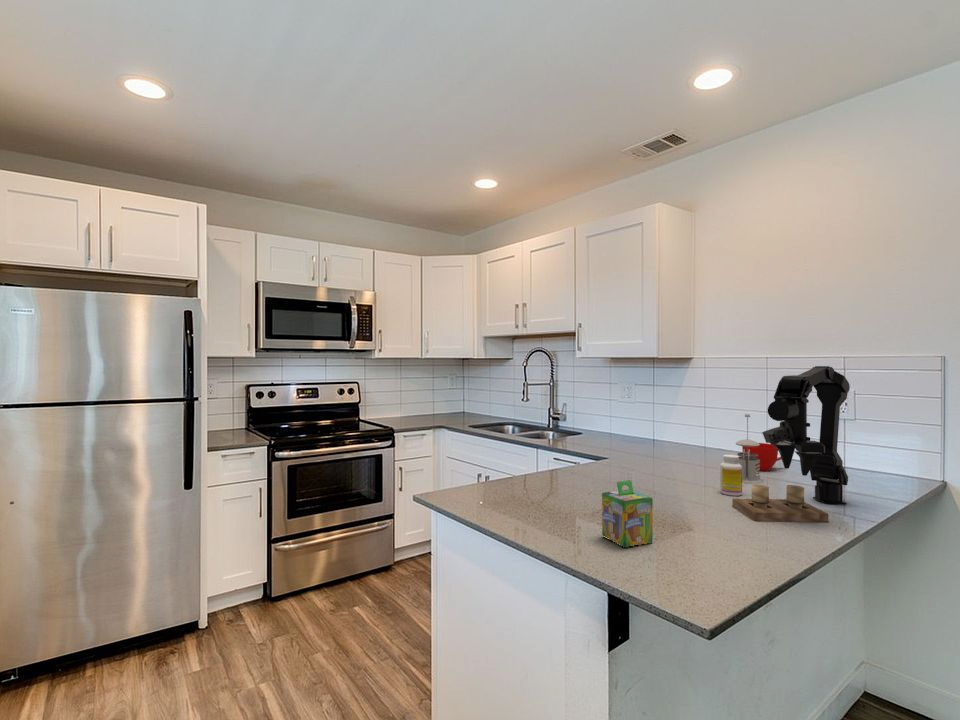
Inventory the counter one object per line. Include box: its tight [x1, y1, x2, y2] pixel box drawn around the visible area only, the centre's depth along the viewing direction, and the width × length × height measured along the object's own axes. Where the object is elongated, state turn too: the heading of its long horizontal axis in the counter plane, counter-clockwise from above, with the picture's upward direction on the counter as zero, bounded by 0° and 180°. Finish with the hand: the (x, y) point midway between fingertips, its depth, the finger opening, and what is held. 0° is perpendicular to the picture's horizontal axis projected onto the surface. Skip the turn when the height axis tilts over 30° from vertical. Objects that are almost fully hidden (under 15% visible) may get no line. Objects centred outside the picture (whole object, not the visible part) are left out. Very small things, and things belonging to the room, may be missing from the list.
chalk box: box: [601, 479, 654, 548], centre depth 126 cm, size 9×9×15 cm
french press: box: [735, 413, 763, 484], centre depth 187 cm, size 10×12×25 cm
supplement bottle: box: [719, 454, 743, 497], centre depth 169 cm, size 7×7×13 cm
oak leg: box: [785, 484, 805, 509], centre depth 146 cm, size 4×4×8 cm
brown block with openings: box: [731, 484, 830, 523], centre depth 146 cm, size 20×14×8 cm
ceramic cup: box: [741, 442, 782, 472], centre depth 206 cm, size 13×17×10 cm
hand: (795, 471), depth 146 cm, fingers open, 9 cm apart
